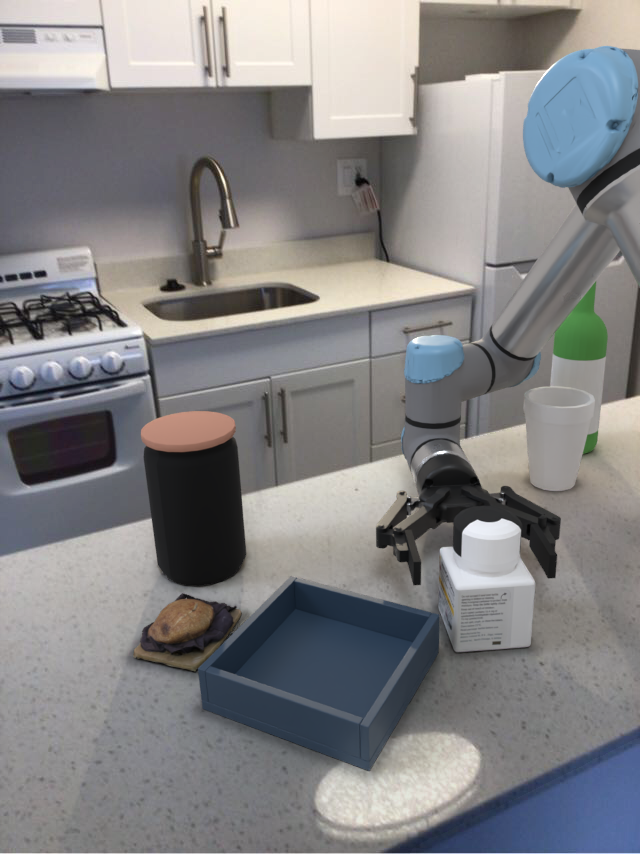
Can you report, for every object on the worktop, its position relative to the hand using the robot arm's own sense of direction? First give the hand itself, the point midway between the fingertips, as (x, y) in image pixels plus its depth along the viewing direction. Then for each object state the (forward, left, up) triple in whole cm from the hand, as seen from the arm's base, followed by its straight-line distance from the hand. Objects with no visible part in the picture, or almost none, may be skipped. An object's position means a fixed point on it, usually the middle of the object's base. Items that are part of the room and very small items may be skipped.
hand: (485, 570), depth 75 cm
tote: (+11, +14, -7) cm, 19 cm away
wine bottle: (+1, -52, -7) cm, 53 cm away
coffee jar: (+34, +2, -7) cm, 35 cm away
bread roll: (+27, +14, -7) cm, 31 cm away
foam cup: (+1, -38, -7) cm, 39 cm away
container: (0, 0, -7) cm, 7 cm away
